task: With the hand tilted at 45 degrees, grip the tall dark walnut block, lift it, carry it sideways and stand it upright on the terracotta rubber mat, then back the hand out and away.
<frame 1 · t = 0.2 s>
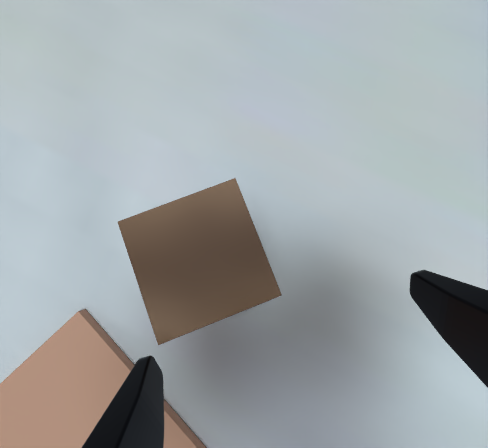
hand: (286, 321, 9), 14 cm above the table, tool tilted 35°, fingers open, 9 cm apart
walnut block: (221, 259, 23), on the table
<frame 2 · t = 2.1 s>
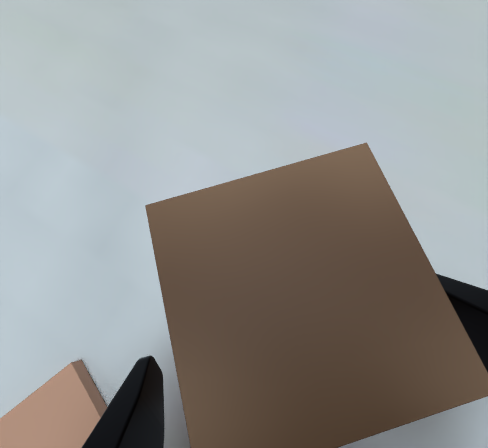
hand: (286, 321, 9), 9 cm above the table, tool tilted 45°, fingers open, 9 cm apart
walnut block: (268, 307, 17), on the table
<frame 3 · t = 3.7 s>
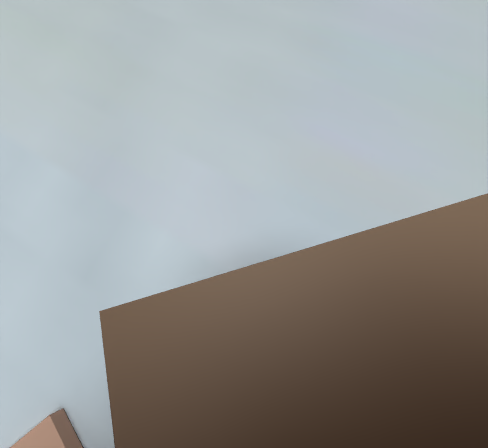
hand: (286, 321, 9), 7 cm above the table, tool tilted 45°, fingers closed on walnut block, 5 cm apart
walnut block: (282, 345, 15), on the table, touching gripper
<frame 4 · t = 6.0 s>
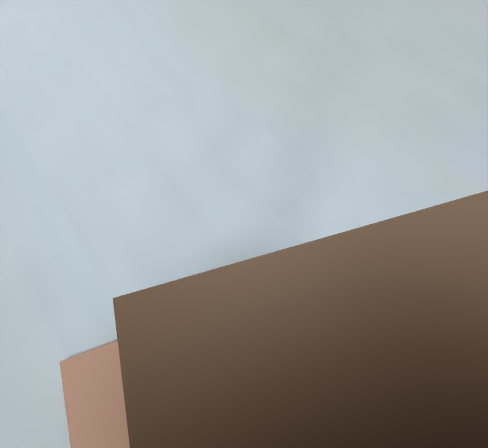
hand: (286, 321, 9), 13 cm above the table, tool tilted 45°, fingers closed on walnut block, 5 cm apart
walnut block: (284, 343, 15), point 7 cm above the table, touching gripper
terracotta mat: (194, 434, 20), on the table
when the fingers open (8 cm above the table, at t = 8.2 s): walnut block stays where it is, resting on terracotta mat.
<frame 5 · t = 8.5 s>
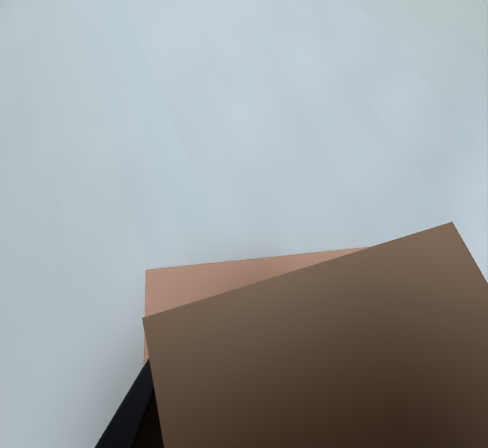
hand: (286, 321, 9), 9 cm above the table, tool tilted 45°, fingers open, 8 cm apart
walnut block: (280, 343, 16), point 1 cm above the table, touching terracotta mat
terracotta mat: (286, 395, 16), on the table
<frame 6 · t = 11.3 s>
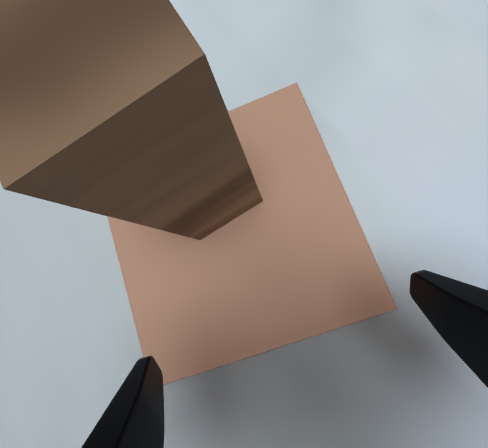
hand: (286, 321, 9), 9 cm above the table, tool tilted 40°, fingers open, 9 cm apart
walnut block: (213, 190, 19), point 1 cm above the table, touching terracotta mat
terracotta mat: (230, 231, 19), on the table
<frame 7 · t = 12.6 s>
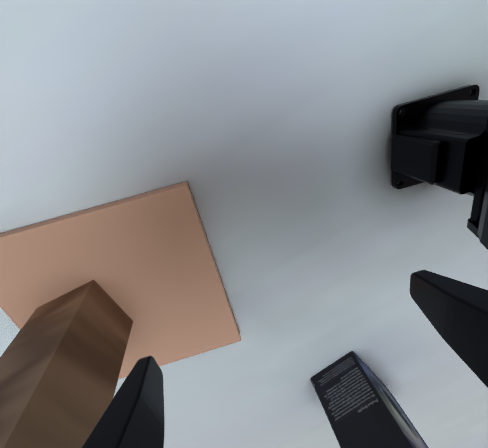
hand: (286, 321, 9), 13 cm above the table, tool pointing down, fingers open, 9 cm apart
walnut block: (87, 314, 22), point 1 cm above the table, touching terracotta mat
terracotta mat: (125, 295, 23), on the table
small box: (350, 380, 34), on the table
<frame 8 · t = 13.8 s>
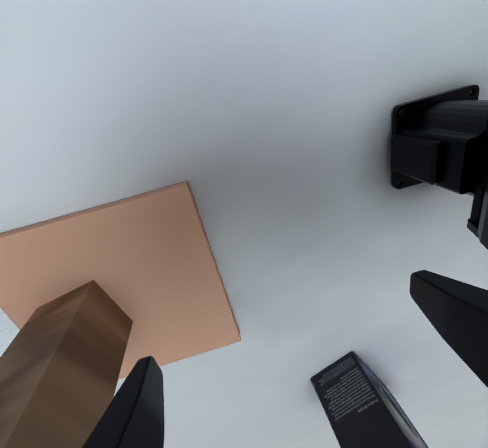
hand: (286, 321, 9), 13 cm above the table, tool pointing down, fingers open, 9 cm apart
walnut block: (87, 315, 22), point 1 cm above the table, touching terracotta mat
terracotta mat: (125, 296, 23), on the table
small box: (350, 380, 34), on the table
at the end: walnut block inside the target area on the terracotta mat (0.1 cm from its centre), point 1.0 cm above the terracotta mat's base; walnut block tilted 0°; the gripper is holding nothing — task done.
